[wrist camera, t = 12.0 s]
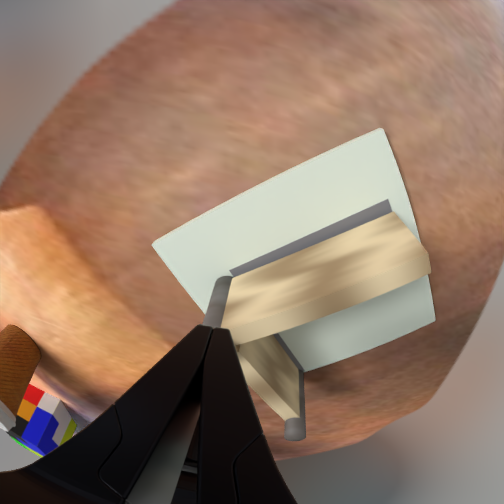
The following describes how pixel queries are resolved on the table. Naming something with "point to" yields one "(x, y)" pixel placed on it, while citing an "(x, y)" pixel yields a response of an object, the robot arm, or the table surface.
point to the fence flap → (318, 280)
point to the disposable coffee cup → (15, 371)
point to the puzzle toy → (41, 422)
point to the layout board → (307, 244)
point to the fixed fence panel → (275, 382)
